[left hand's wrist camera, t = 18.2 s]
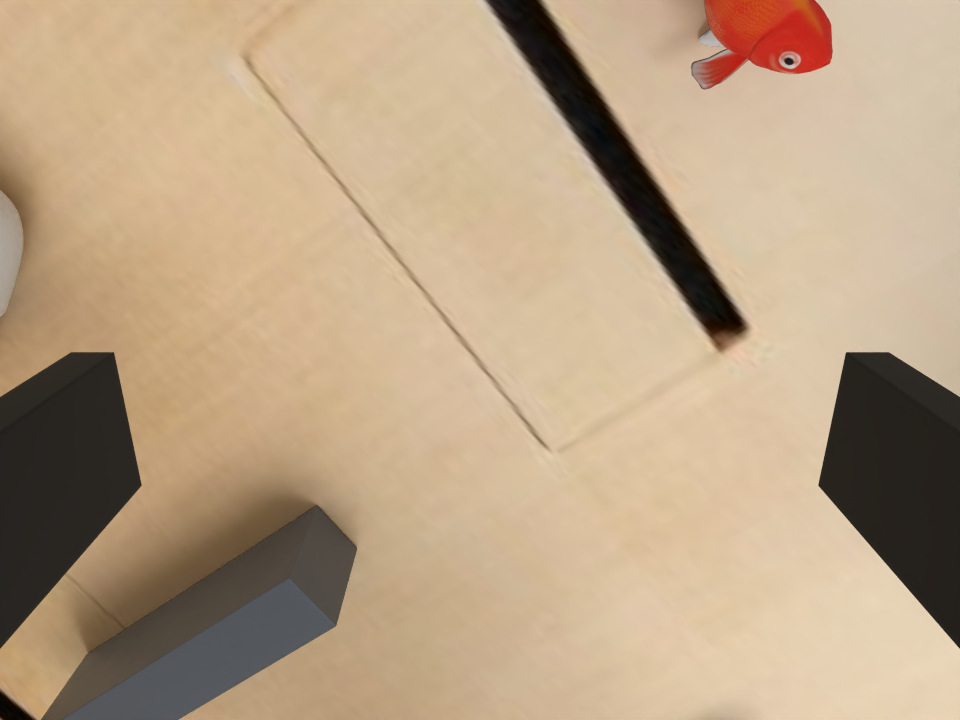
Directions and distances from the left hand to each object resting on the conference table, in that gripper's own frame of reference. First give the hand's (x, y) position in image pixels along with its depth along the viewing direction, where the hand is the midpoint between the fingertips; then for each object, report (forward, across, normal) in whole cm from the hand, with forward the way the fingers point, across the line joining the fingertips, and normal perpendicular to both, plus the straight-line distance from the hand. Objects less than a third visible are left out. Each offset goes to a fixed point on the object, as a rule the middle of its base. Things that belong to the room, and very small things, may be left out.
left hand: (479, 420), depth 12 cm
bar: (+31, -20, -31) cm, 49 cm away
